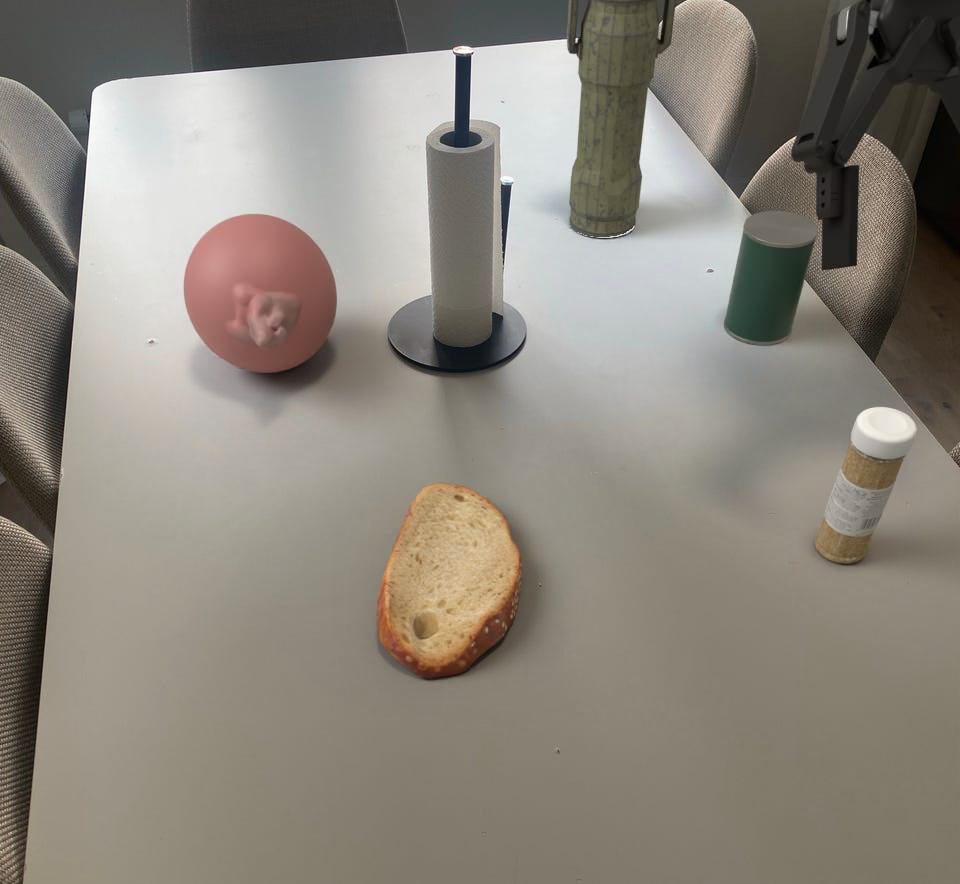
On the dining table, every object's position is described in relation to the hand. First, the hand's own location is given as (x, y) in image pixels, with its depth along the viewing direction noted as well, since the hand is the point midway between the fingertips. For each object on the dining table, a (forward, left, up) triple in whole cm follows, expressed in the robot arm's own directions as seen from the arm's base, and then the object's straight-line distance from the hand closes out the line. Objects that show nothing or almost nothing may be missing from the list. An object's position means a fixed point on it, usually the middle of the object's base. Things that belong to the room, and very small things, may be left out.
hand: (910, 262), depth 70 cm
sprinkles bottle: (-1, +7, -23) cm, 24 cm away
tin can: (+8, -28, -23) cm, 37 cm away
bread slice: (+32, +19, -23) cm, 44 cm away
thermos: (+29, -49, -23) cm, 62 cm away
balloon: (+58, -7, -23) cm, 63 cm away
